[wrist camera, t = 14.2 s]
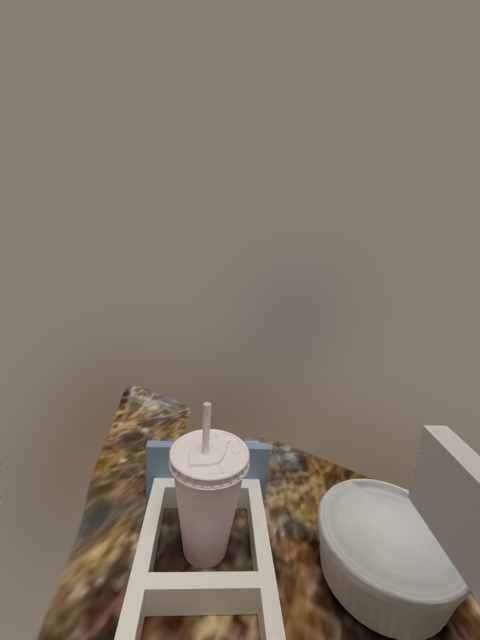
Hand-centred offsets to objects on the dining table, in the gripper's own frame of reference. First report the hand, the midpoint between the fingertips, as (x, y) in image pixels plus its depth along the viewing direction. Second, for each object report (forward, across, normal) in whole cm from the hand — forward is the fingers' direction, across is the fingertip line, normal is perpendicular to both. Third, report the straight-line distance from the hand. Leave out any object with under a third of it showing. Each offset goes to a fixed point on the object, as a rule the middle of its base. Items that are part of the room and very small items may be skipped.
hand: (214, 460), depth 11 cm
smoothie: (+14, -1, -20) cm, 25 cm away
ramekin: (+12, +14, -21) cm, 27 cm away
